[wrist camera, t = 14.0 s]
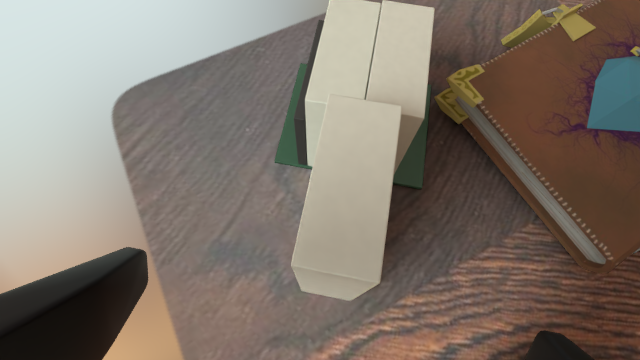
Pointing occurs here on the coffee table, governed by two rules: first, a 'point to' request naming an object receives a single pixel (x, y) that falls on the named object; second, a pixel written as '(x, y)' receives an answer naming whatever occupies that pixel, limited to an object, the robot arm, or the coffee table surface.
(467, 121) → the book
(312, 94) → the cream and green block
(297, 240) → the cream rectangular block
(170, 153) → the coffee table surface
